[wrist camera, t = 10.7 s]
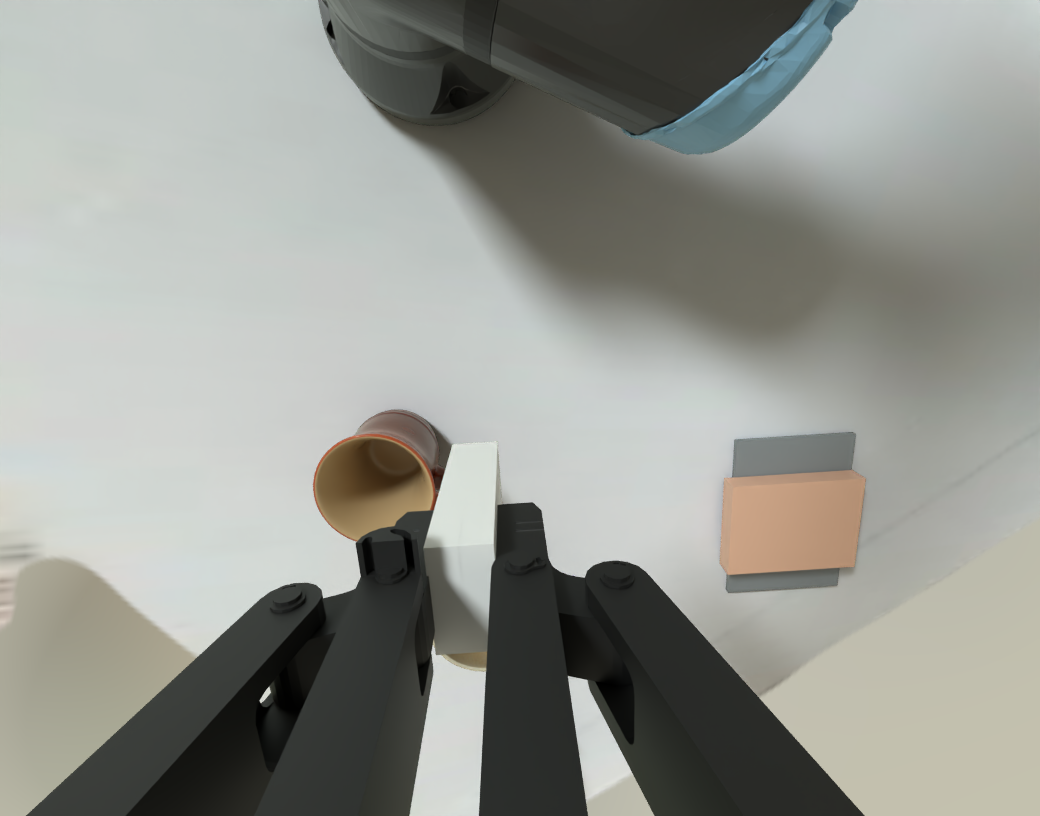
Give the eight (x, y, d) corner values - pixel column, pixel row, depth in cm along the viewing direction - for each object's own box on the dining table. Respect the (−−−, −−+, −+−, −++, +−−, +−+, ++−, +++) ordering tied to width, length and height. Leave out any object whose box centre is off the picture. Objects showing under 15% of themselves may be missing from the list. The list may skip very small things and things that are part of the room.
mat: (734, 439, 49) (736, 441, 49) (852, 432, 49) (855, 433, 49) (725, 589, 53) (727, 592, 53) (834, 582, 54) (837, 585, 53)
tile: (733, 486, 48) (865, 478, 48) (723, 477, 50) (850, 469, 50) (727, 574, 50) (854, 566, 50) (719, 562, 52) (840, 554, 52)
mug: (338, 466, 49) (296, 519, 39) (372, 381, 47) (336, 415, 37) (458, 514, 50) (447, 577, 41) (496, 435, 48) (494, 480, 39)
